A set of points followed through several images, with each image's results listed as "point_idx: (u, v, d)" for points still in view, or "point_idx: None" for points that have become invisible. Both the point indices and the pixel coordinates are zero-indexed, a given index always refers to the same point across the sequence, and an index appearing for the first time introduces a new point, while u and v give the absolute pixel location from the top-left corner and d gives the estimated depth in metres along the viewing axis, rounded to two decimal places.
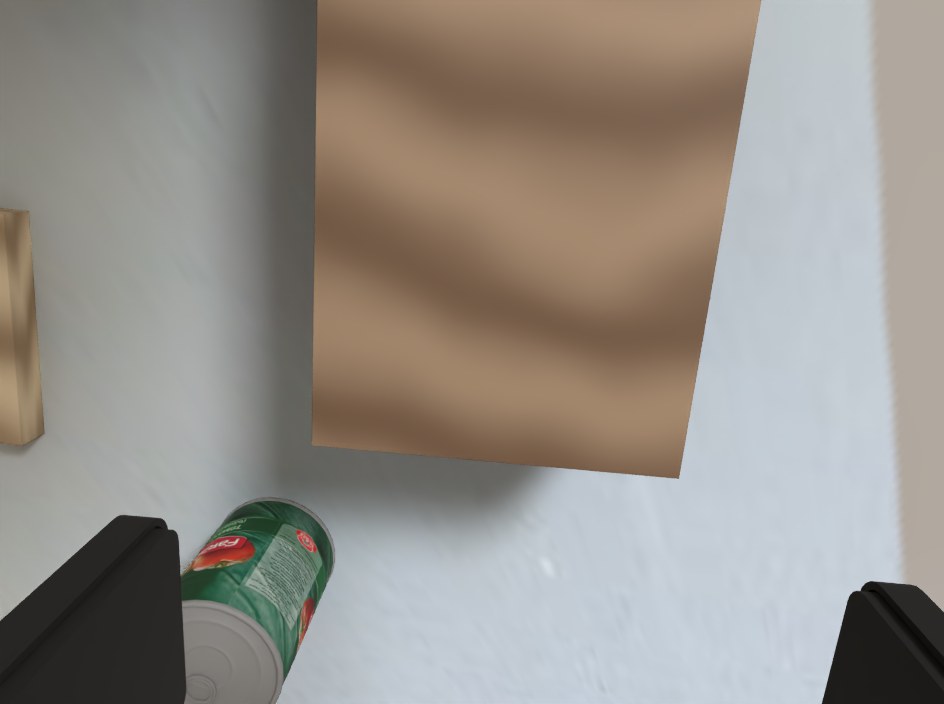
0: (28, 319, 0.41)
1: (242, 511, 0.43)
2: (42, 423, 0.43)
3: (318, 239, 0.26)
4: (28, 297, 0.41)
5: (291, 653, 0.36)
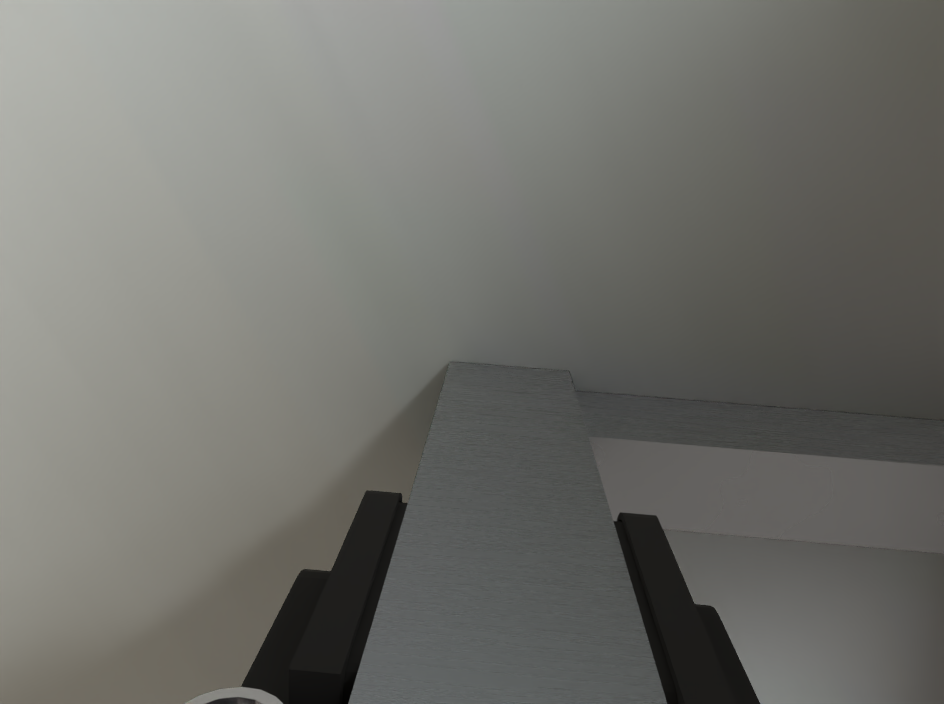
0: None
1: None
2: None
3: None
4: None
5: None
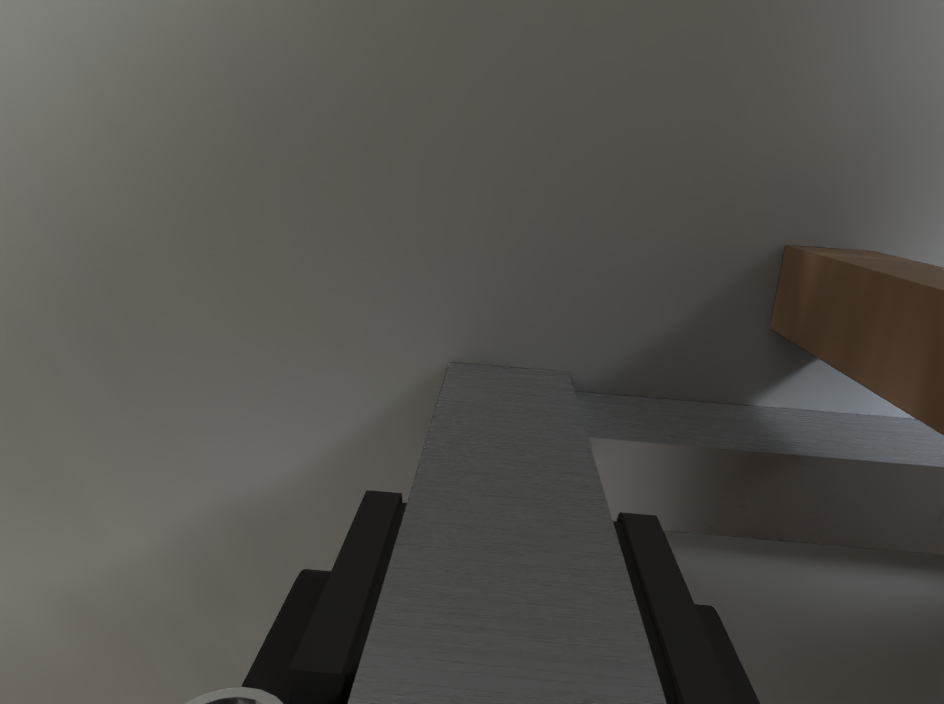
0: None
1: None
2: None
3: None
4: None
5: None
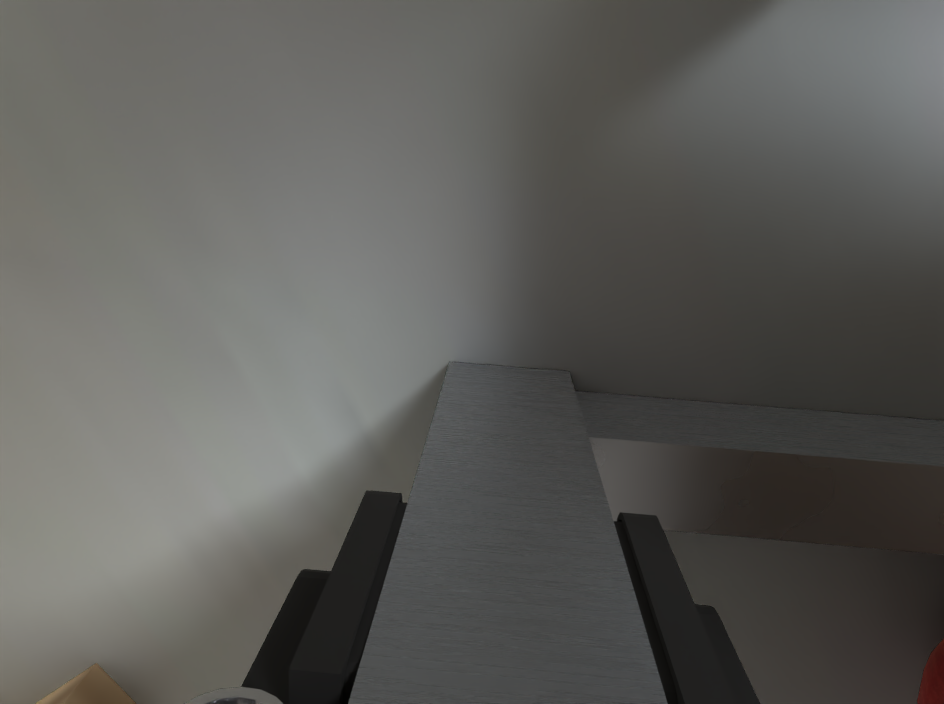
0: None
1: None
2: None
3: None
4: None
5: None
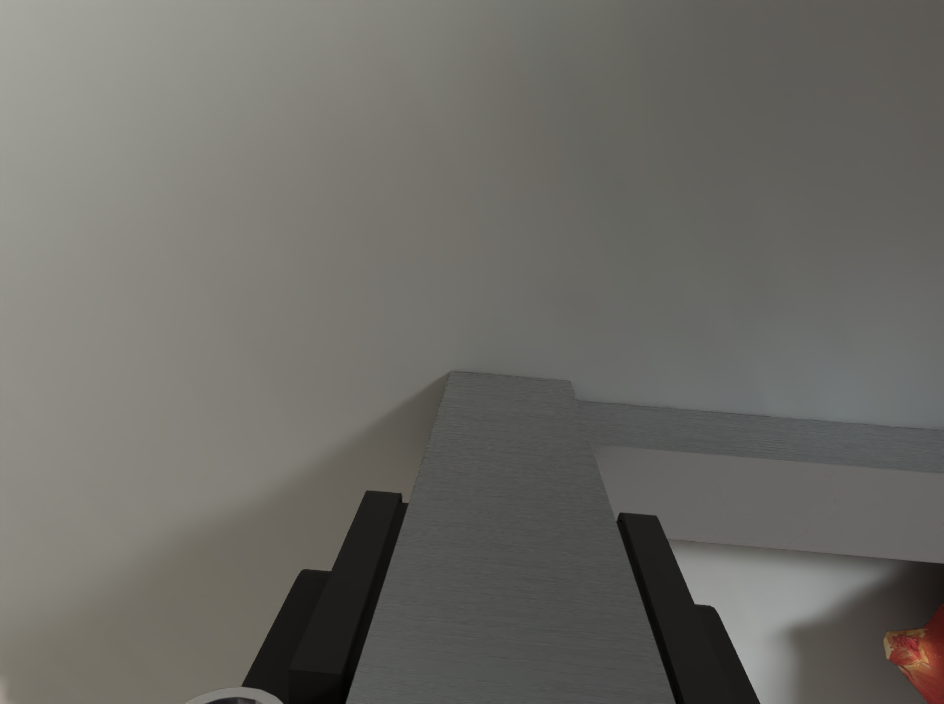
0: None
1: None
2: None
3: None
4: None
5: None
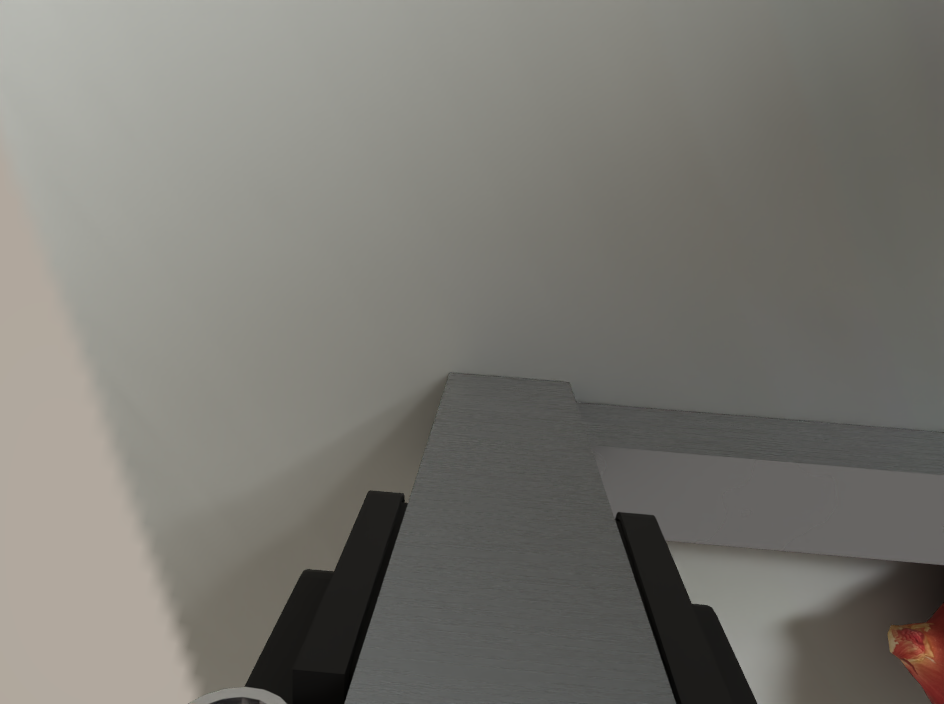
0: None
1: None
2: None
3: None
4: None
5: None
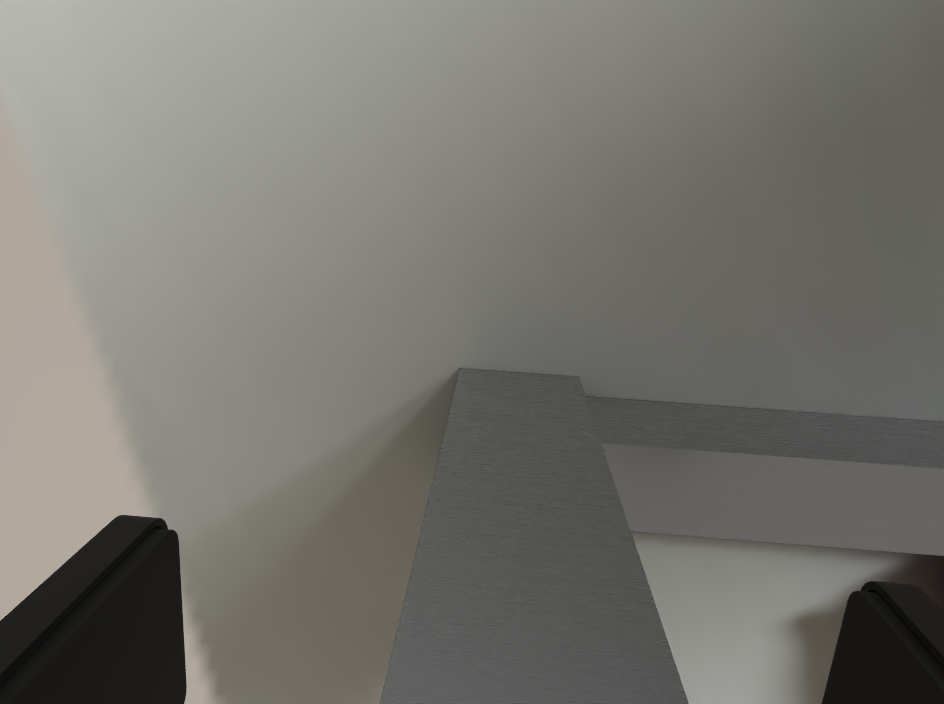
0: None
1: None
2: None
3: None
4: None
5: None
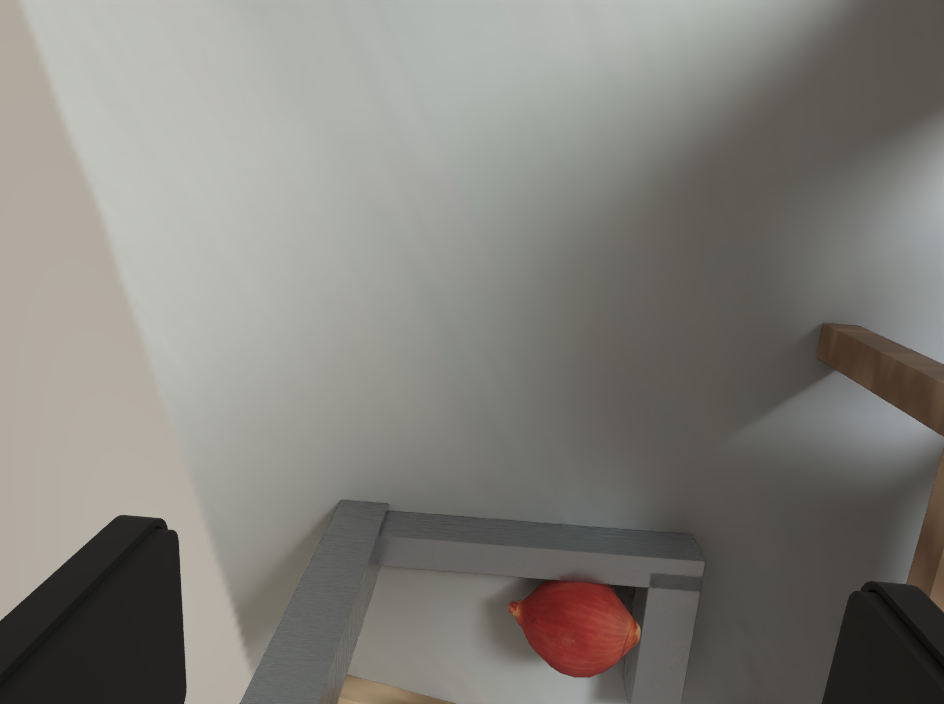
0: None
1: None
2: None
3: None
4: None
5: None
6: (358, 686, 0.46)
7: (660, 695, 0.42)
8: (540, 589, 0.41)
